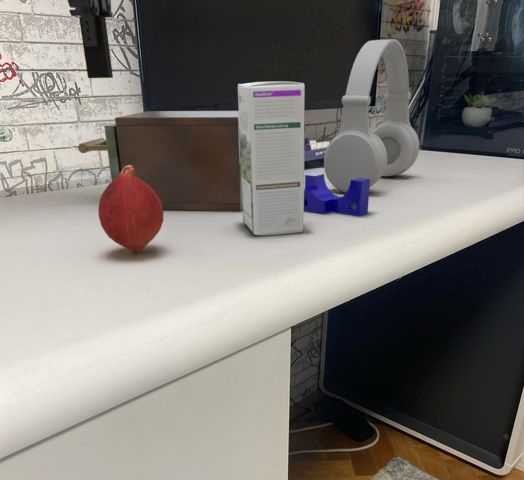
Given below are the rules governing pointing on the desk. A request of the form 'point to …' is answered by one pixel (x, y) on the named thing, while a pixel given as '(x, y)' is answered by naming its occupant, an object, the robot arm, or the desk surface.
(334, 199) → the cable holder
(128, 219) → the onion
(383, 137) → the headphones
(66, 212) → the desk surface
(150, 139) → the cabinet
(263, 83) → the syrup box
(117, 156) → the drawer
